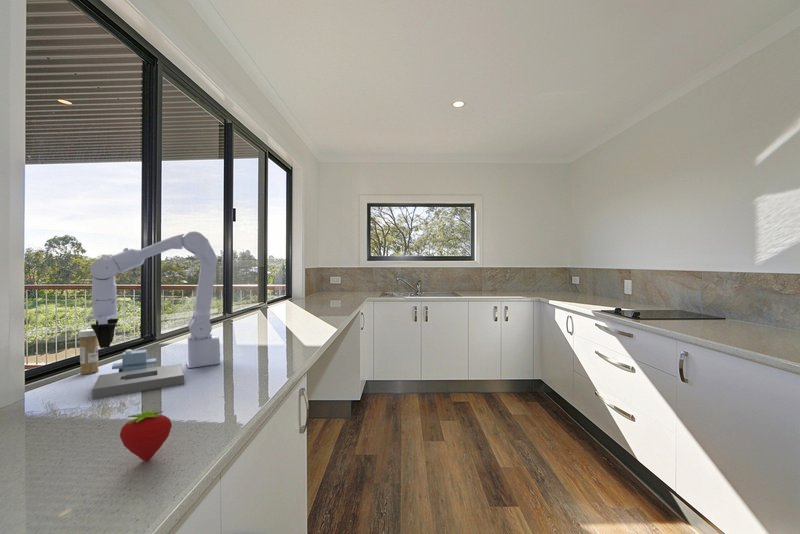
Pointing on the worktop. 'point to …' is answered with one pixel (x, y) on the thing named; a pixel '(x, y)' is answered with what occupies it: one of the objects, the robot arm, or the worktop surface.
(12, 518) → the worktop surface
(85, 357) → the sprinkles bottle
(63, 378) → the worktop surface
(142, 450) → the strawberry
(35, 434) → the worktop surface
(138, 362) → the block
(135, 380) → the mounting plate
